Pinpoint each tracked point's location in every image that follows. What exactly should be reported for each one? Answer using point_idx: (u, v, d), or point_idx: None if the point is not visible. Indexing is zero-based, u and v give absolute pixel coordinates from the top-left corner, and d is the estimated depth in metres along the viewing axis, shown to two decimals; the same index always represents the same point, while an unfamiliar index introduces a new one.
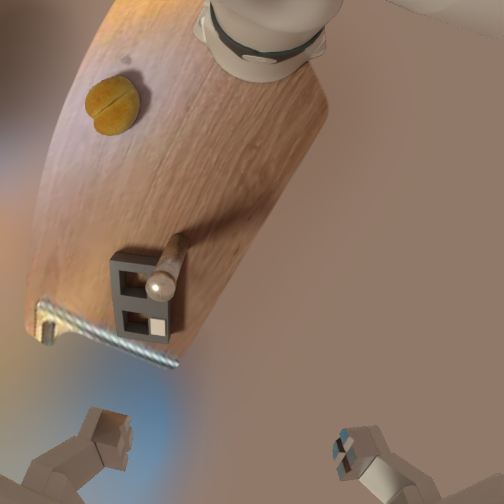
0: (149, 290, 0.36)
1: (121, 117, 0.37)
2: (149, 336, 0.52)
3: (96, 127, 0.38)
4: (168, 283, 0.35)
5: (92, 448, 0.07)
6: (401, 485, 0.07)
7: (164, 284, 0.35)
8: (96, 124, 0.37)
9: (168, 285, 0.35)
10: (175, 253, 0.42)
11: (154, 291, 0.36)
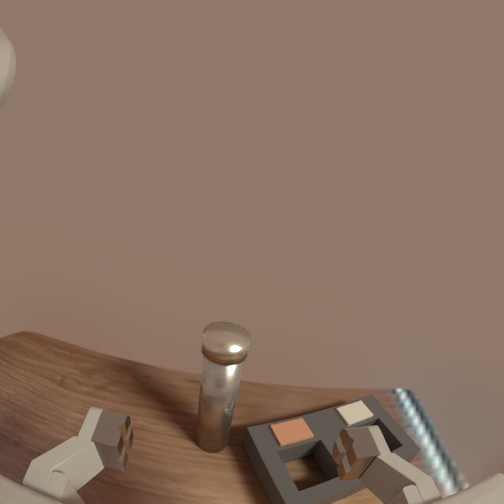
0: (236, 344, 0.21)
1: None
2: (379, 416, 0.29)
3: None
4: (210, 327, 0.23)
5: (92, 448, 0.07)
6: (401, 485, 0.07)
7: (214, 330, 0.23)
8: None
9: (213, 327, 0.23)
10: (199, 396, 0.25)
11: (234, 340, 0.22)
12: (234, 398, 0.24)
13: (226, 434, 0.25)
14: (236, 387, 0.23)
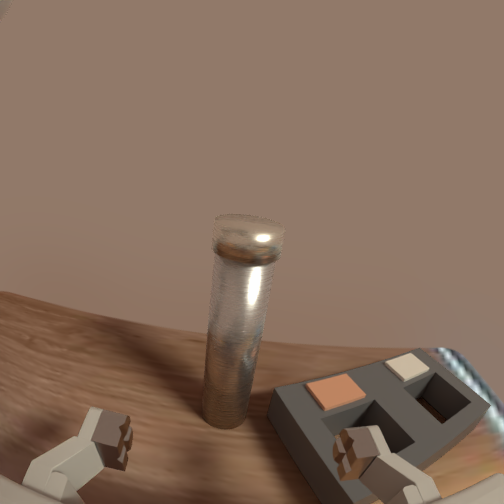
0: (266, 230, 0.15)
1: None
2: (436, 370, 0.22)
3: None
4: (225, 217, 0.16)
5: (92, 448, 0.07)
6: (401, 485, 0.07)
7: (231, 219, 0.16)
8: None
9: (230, 216, 0.16)
10: None
11: (262, 226, 0.15)
12: (260, 333, 0.17)
13: (246, 398, 0.18)
14: (263, 312, 0.16)
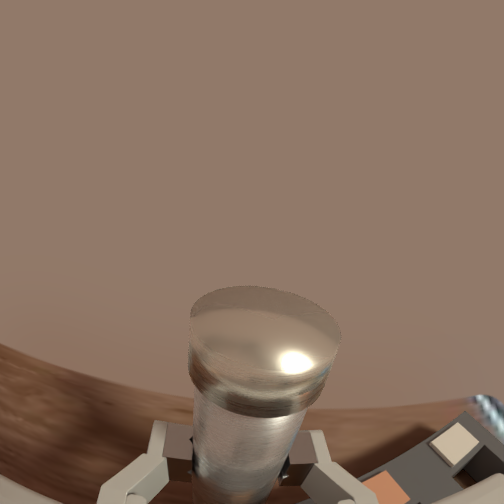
0: (306, 349, 0.06)
1: None
2: (485, 442, 0.14)
3: None
4: (215, 300, 0.08)
5: (163, 464, 0.08)
6: (340, 497, 0.07)
7: (228, 309, 0.07)
8: None
9: (224, 299, 0.08)
10: None
11: (294, 334, 0.07)
12: (277, 475, 0.08)
13: None
14: (286, 456, 0.08)
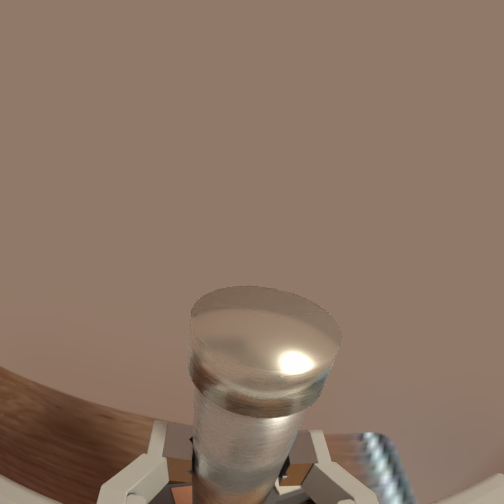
0: (306, 349, 0.06)
1: None
2: None
3: None
4: (215, 300, 0.08)
5: (163, 464, 0.08)
6: (340, 498, 0.07)
7: (228, 309, 0.07)
8: None
9: (225, 299, 0.08)
10: None
11: (295, 334, 0.07)
12: (277, 475, 0.08)
13: None
14: (286, 456, 0.08)
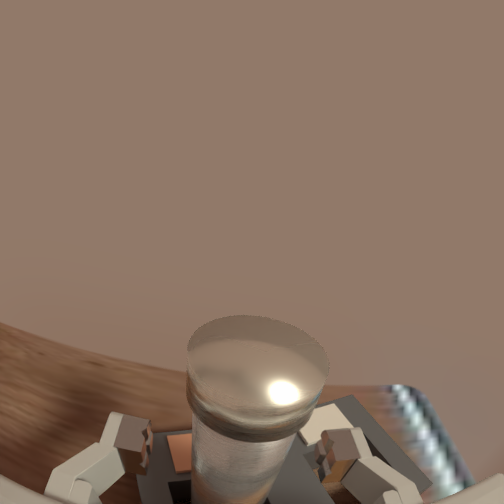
0: (295, 383, 0.07)
1: None
2: (365, 429, 0.17)
3: None
4: (210, 332, 0.08)
5: (114, 454, 0.08)
6: (382, 489, 0.07)
7: (223, 341, 0.08)
8: None
9: (220, 330, 0.08)
10: None
11: (285, 367, 0.07)
12: (271, 487, 0.09)
13: None
14: (278, 470, 0.08)
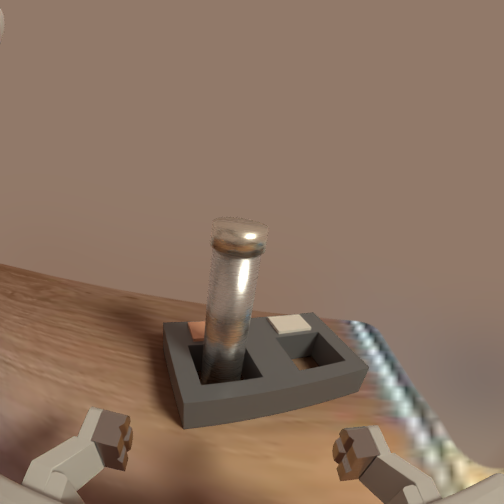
0: (253, 230, 0.19)
1: None
2: (320, 330, 0.29)
3: None
4: (221, 219, 0.20)
5: (92, 448, 0.07)
6: (401, 485, 0.07)
7: (226, 221, 0.20)
8: None
9: (225, 219, 0.20)
10: None
11: (250, 227, 0.19)
12: (248, 314, 0.21)
13: (238, 372, 0.22)
14: (251, 296, 0.20)
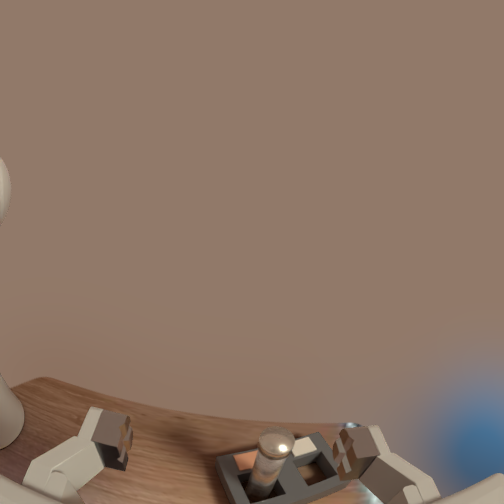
0: (286, 447, 0.26)
1: None
2: (322, 450, 0.37)
3: None
4: (264, 434, 0.27)
5: (92, 448, 0.07)
6: (401, 485, 0.07)
7: (268, 436, 0.27)
8: None
9: (267, 433, 0.27)
10: (251, 471, 0.29)
11: (283, 443, 0.26)
12: (279, 472, 0.28)
13: (270, 491, 0.29)
14: None
